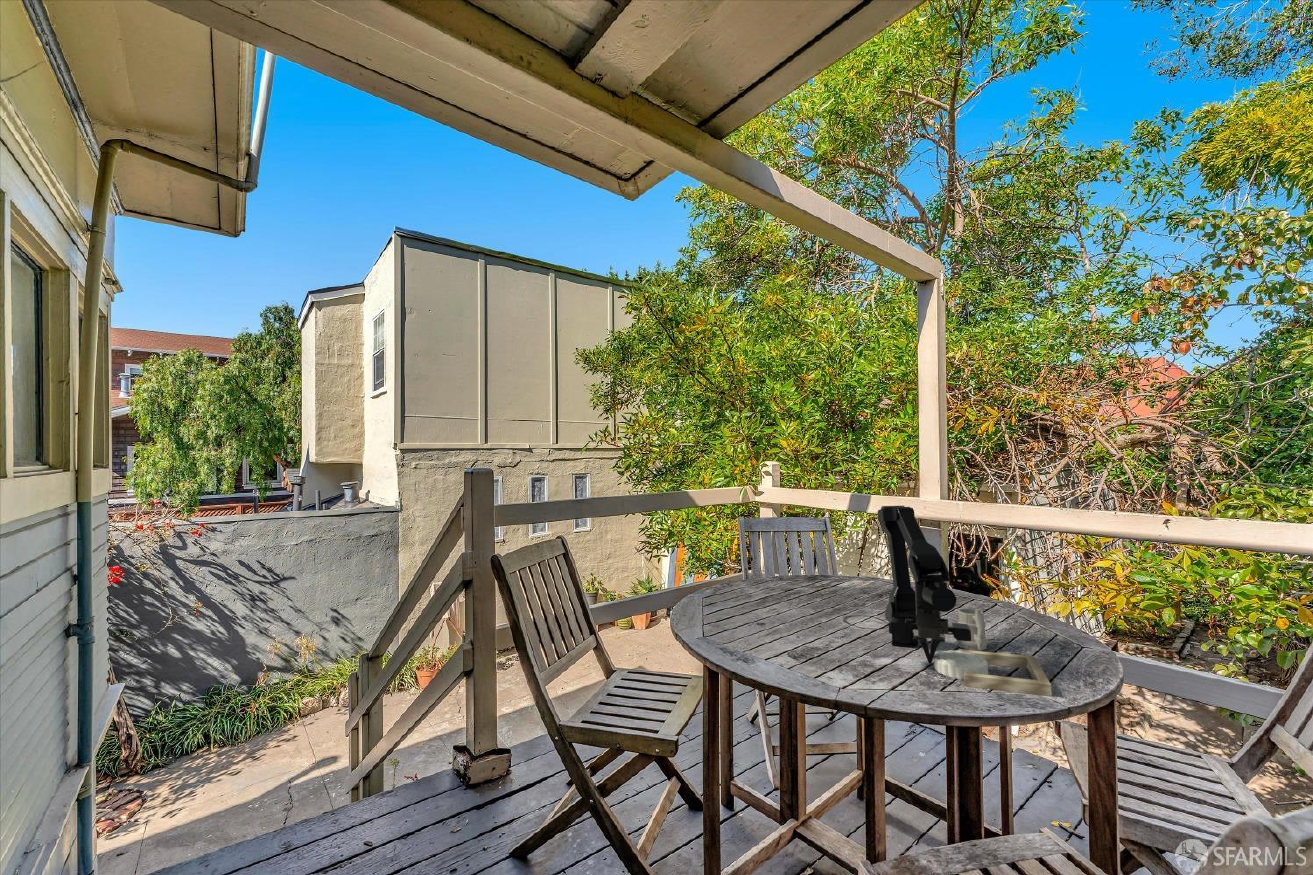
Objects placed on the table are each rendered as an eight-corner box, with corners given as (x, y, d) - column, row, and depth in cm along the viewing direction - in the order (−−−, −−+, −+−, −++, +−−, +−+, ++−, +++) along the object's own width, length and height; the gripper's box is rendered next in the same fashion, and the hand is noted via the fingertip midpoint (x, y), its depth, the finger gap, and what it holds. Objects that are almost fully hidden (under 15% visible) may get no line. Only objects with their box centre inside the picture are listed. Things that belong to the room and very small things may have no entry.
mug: (981, 642, 164) (979, 599, 165) (999, 656, 153) (996, 611, 153) (952, 641, 166) (950, 599, 166) (968, 656, 154) (966, 611, 154)
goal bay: (965, 685, 135) (964, 675, 135) (959, 658, 152) (958, 649, 152) (1051, 696, 128) (1051, 684, 128) (1035, 666, 145) (1034, 656, 146)
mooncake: (966, 660, 151) (966, 647, 151) (999, 678, 139) (999, 663, 139) (924, 664, 149) (923, 650, 150) (953, 682, 138) (953, 667, 138)
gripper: (886, 605, 144) (888, 669, 143) (971, 612, 136) (974, 679, 135) (888, 595, 154) (891, 654, 153) (968, 601, 146) (970, 663, 145)
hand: (930, 662), depth 147 cm, fingers closed
